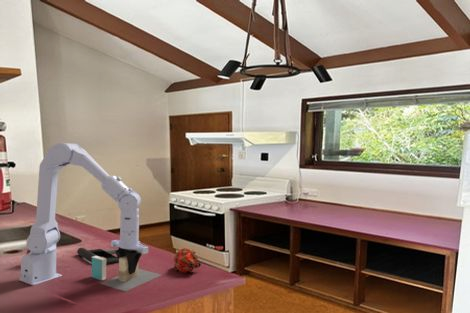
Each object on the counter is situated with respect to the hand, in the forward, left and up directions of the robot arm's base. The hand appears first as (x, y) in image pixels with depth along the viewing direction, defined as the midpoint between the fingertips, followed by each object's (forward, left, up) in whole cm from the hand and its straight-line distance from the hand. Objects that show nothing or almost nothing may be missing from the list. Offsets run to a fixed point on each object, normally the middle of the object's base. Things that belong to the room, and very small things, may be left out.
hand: (128, 272), depth 115 cm
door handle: (+11, +23, -3) cm, 26 cm away
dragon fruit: (+16, -11, -3) cm, 20 cm away
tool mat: (0, -1, -2) cm, 3 cm away
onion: (-8, +37, -3) cm, 38 cm away
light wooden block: (0, 0, -2) cm, 2 cm away
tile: (-5, +8, +1) cm, 9 cm away
